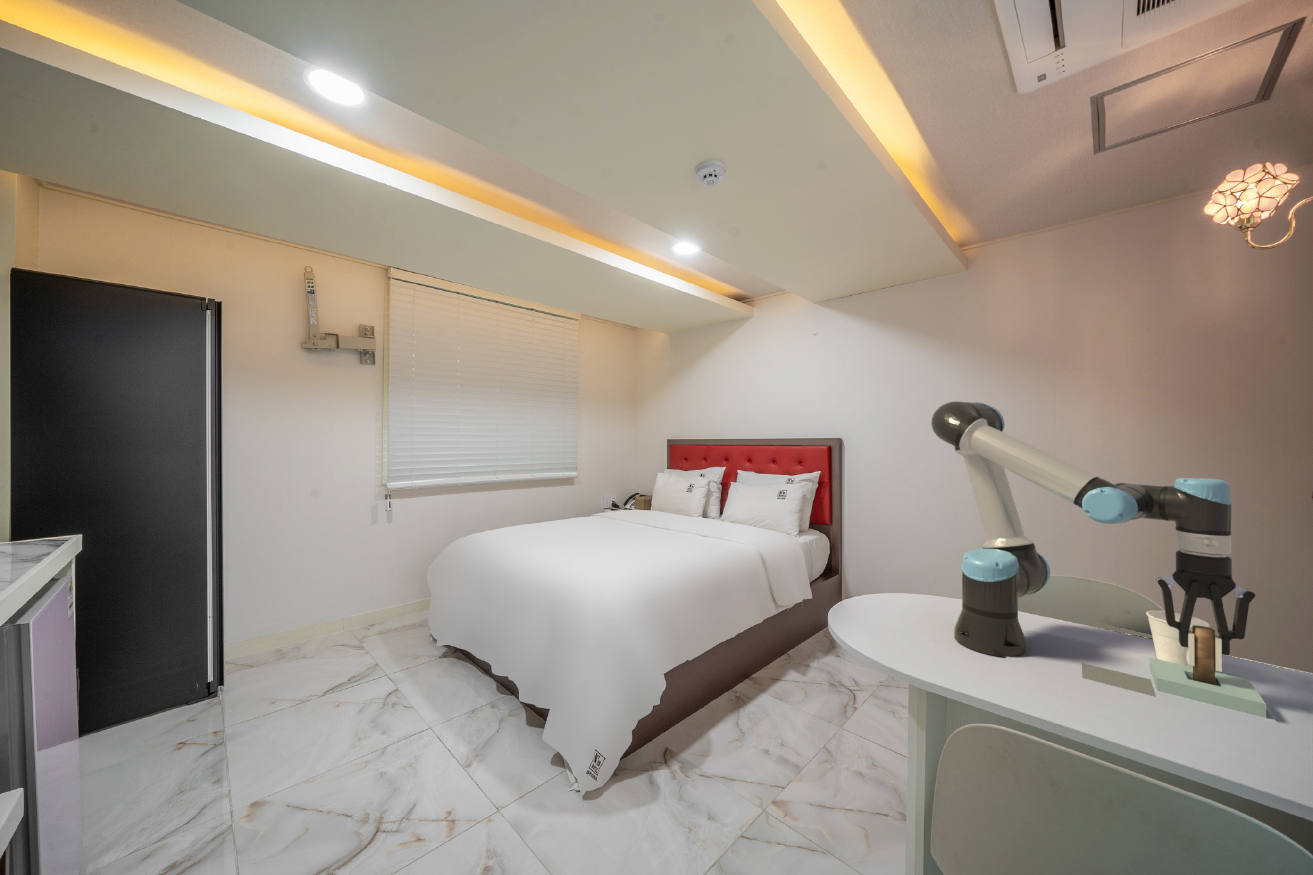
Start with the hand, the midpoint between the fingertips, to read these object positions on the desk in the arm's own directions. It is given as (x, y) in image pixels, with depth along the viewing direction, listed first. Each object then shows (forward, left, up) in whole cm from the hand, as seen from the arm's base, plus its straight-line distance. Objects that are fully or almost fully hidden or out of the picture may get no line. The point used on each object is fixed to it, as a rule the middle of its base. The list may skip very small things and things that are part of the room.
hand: (1203, 665), depth 96 cm
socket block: (0, 0, -6) cm, 6 cm away
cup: (-2, +14, -6) cm, 15 cm away
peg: (0, 0, -4) cm, 4 cm away
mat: (-13, -5, -6) cm, 15 cm away
